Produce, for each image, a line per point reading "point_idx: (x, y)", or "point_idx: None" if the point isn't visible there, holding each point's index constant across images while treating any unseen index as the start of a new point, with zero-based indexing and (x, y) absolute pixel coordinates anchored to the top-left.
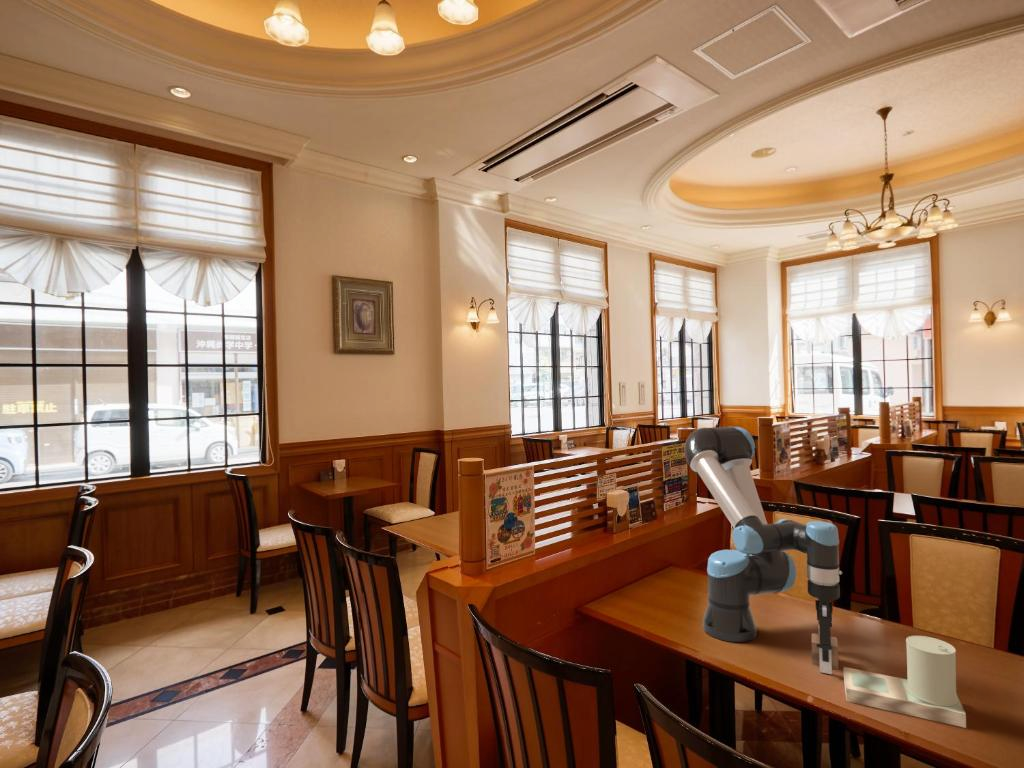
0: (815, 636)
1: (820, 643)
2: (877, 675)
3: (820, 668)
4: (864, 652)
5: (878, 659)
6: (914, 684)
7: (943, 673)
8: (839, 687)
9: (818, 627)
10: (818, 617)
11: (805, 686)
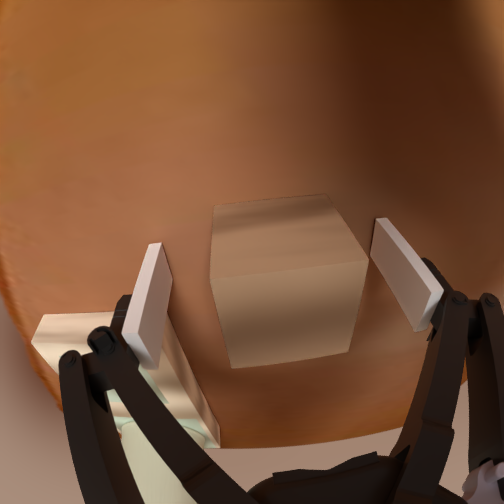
0: (322, 283)
1: (60, 375)
2: (174, 395)
3: (145, 256)
4: (398, 324)
5: (363, 351)
6: (124, 446)
7: None
8: (96, 300)
9: (429, 289)
10: (191, 496)
11: (19, 217)
